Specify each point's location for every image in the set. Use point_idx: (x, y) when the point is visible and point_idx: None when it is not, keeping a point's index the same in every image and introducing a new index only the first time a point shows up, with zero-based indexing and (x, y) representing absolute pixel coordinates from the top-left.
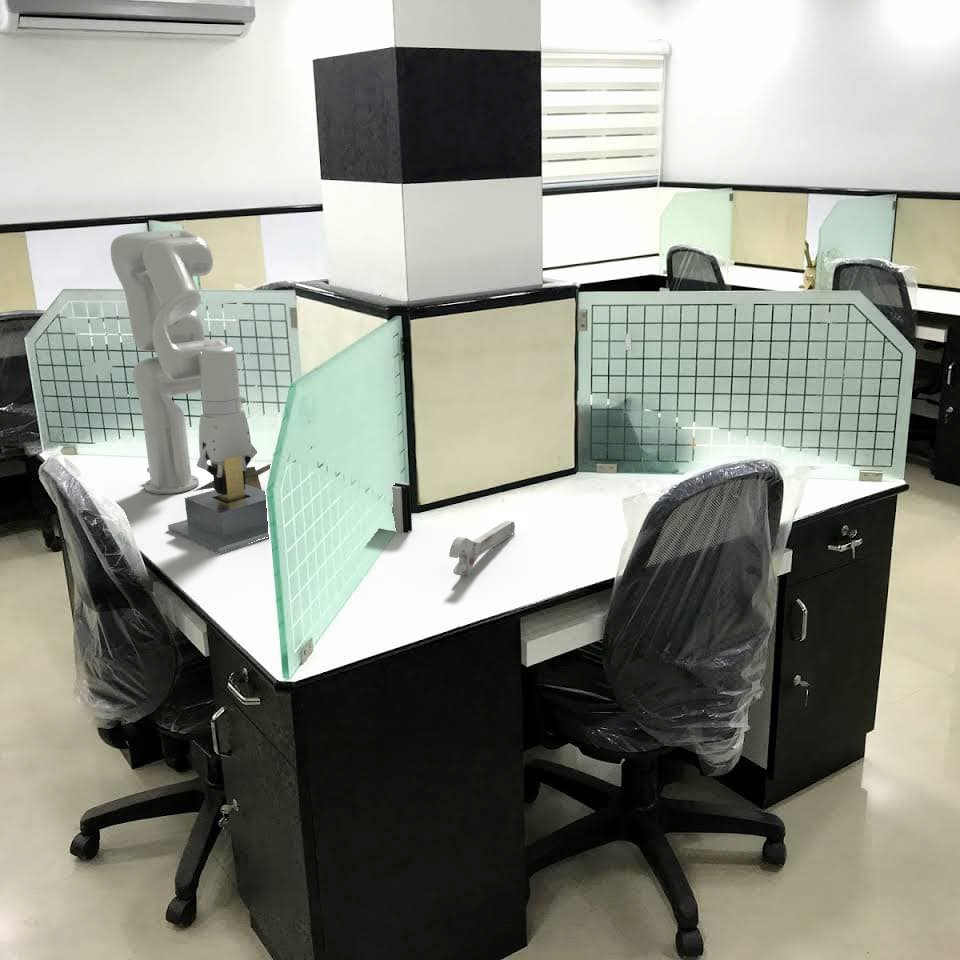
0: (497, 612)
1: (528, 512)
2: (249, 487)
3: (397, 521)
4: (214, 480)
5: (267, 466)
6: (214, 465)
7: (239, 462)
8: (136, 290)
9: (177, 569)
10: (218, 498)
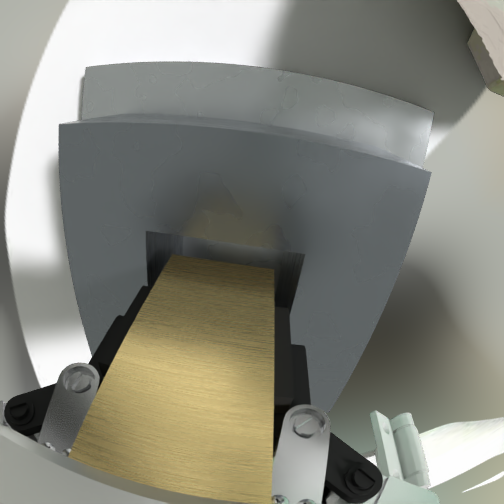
0: None
1: (461, 457)
2: (380, 272)
3: (378, 463)
4: (98, 355)
5: None
6: (70, 435)
7: None
8: None
9: (30, 308)
10: (171, 256)
